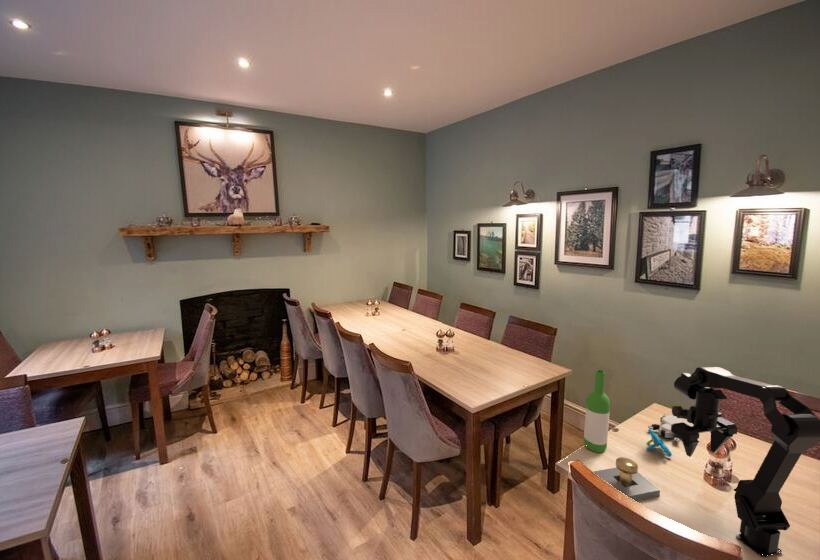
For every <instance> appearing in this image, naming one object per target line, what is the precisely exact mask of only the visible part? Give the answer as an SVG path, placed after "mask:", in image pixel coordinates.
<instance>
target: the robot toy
mask: <svg viewBox="0 0 820 560" xmlns="http://www.w3.org/2000/svg"><path fill="white" fill-rule="evenodd" d="M659 419H660V423H661V425H659V424H657V423H655V424H654V423H653V424H651V425H648V427H647V428H648V430H649V429H651V430H652V431H657V430H658V431H659V433H658V434H659V435H660V436H662V437H664V438H667V439H673V440H674V442H676V441H677V442H681V438H680V437H679V436H677V435H676V434H674V433H673V432H671V425H672V424H675V423H682V422H684V423H685V424H687V425H689V426H694V425H693V424H692V423H689V422H687V419H683V418H677V417H676V416H673V414H670V415H669V414H667V412H665V413H664V414H663V415H662V416H661V417H659Z"/></svg>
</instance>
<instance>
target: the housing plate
mask: <svg viewBox="0 0 820 560" xmlns="http://www.w3.org/2000/svg"><path fill="white" fill-rule="evenodd" d="M593 472H594V473H595V474H596V475H598V476H599V477H600V478H602V479H603V480H605V481H606V482H608V483H609V484H611V485H612V486H613V487H614V488H616V489H617V490H619V491H621V492H622V493H624V494H625V495H627V496H628V497H630V498H632V499H634V500H636V501H635V502H637V501H641V500H645V499H651V498H655V497H660V494H661V489H659V488H658V487H657V486H656V485H654V484H653V483H652V482H650V480H649V479H647V478H646V477H645V476H643V475H642V474H641V473H639V471H638V472H637V473H636V474H633V478H632V486H628V487H624V486H623V485H622V484H621V483H620V482H619V472H620V470H619V469H618V468H617V467H616V466H615V467H611V468H605V469H600V470H595V471H594V470H593V471H592V473H593Z"/></svg>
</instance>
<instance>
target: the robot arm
mask: <svg viewBox="0 0 820 560" xmlns="http://www.w3.org/2000/svg"><path fill="white" fill-rule="evenodd" d="M673 387H674V388H675V391H677V392H679V393H680V394H682V395H683V396H685V397H687V398H689V399H691V400H693V401H694V405H692V406H686V405H684V406H683V405H682V406H681V405H673V406H672V407H671V415H672V416H676V417H677V418H682V419H684V420H686V421H687V422H689V423H691V424H692V425H693V426H689V425H687V424H685V423H684V422H682V423H675V424H672V425H671V432H673V433H674V434H676V435H677V436H679V437H680V441H681V442H682V445H683V447H684V451H685V454H686V456H687V457H689V458H691V457H692V456H693V453H694V452H695V451H696V448H697V446H698V444H699V442H700V441H699V440H698V439H700V434H705V433H710V447H709V448H710V452H712V453H714V454H715V453H716V452H717V451H718V450H719V449H720V448H721V447H722V446H723V445H724V444H725V443H726V442H727V441H728V440H730V439H731V438H733V436H734V435H737V434H738V429H739V428H738V427H737V424H735V423H734V422H732V421H730V420H728V419H726V418H724V417H723V413H721V412H719V410H720V405H721V404H720V402H721V400H722V401H724V400H728V396H726V394H724V392H723V391H722V389H724V390H726V391H727V390H728V391H731V392H734V393H738V394H740V395H744V396H748V397H750V398H754V399H758V400H759V401H760V402H761V404H762V408H763V414H764V416H765V418H766V420H768V422H769V423H770V424H771V427H770V433H771V435H772V438H773V442H772V444H771V445H770V448H769V449H768V451H767V454H766V455H765V457H764V459H763V461H762V463H761V464H760V465H759V468H758V470H757V472H756V474H755V476H754V477H753V479H740V480H738V482H737V486H736V487H735V488H734V489H733V491H734V492H735V493H734V503H735V509H736V515H737V518H738V519H739V520H740V527H739V533H738V534H736V536H735V537H736V538H737V539H738V540H739V541H740V542H742V543H744V545H746V546H747V547H748V548H750V549H751V550H753V551H754V552H755V553H756V552H757V553H756V554H758V555H759V554H760V555H761V556H760V555H759V556H760V557H762V556H767V555H771V554H775V555H777V554H776V553H779V552H783V550H782V549H781V548H780V547H779V541H780V537H781V531H787V530H788V529H790V527H791V525H790V523H789V520H788V519H787V517H786V515H785V513H784V512H783V509H782V508H781V507H782V504H783V499H782V498H781V495H780V491H781V490H782V488H783V486H784V485H785V483H786V481H787V480H788V478H789V476H790V474H791V473H792V471H793V470H794V467H795V466H796V464H797V463H798V461H799V459H800V457H801V456H802V454H803V453H804V452H805V451H808V450H810V449H812V448H814V447H816V446H817V445H819V444H820V419H819V417H818V416H817V415H816V414H815V413H814V412H813V411H812V409H810V407H809V406H808V405H806V404H804V403H803V402H801V401H800V400H798V399H797V398H795V397H793V395H792V394H791V393H790V392H789V391H788V390H787V389H786V388H785V387H784V386H780V385H778V384H774V385H773V384H769V383H766V382H762V381H758V380H753V379H749V378H746V377H743V376H742V377H741V376H738V375H735V374H733V373H731V372H730V371H729V370H728V369H725V368H723V367H720V366H699V367H696V368H695V371H694V372H693V373H689V372H681V374H680V376H678V377H677V378H676V379H675V380H674V382H673ZM777 403H779V404H780V405H781V406H783V407H784V408H786V410H788V411H790V413H783V414H782V413H781V412H780V410H779V409H778V408H777ZM791 412H792V413H791ZM779 550H780V551H779ZM762 554H763V555H762ZM779 554H780V553H779ZM771 556H772V555H771ZM767 557H768V556H767Z"/></svg>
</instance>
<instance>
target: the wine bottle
mask: <svg viewBox="0 0 820 560" xmlns="http://www.w3.org/2000/svg"><path fill="white" fill-rule="evenodd" d="M605 376H606V372H605V371H604V370H602V369H597V370H595V376H594V377H595V379H594V390H592V391H591V392H589V393H588V395H587V397H586V404H585V405H586V406H585V416H584V432H583V444H584V446H585V448H587V449H588V450H590V451H592V452H595V453H603V452H605V451H607V450H606V449H607V447H608V436H609V424H610V423H609V422H610V410H611V401H610V399H609V396H608V395H607V394H606V393H605V378H606V377H605ZM586 445H587V446H586Z"/></svg>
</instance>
